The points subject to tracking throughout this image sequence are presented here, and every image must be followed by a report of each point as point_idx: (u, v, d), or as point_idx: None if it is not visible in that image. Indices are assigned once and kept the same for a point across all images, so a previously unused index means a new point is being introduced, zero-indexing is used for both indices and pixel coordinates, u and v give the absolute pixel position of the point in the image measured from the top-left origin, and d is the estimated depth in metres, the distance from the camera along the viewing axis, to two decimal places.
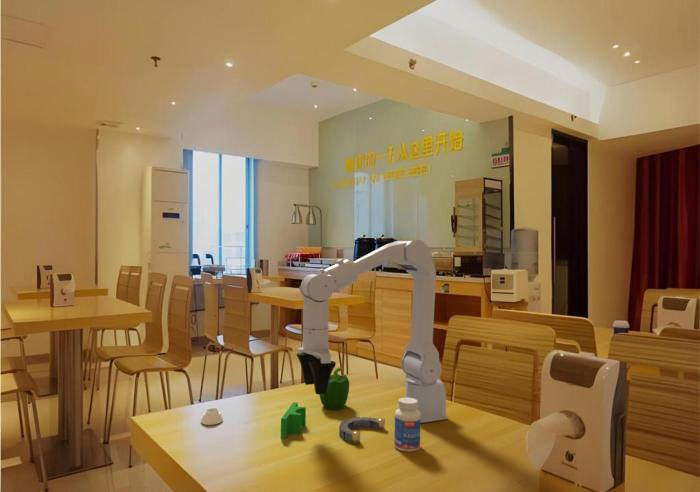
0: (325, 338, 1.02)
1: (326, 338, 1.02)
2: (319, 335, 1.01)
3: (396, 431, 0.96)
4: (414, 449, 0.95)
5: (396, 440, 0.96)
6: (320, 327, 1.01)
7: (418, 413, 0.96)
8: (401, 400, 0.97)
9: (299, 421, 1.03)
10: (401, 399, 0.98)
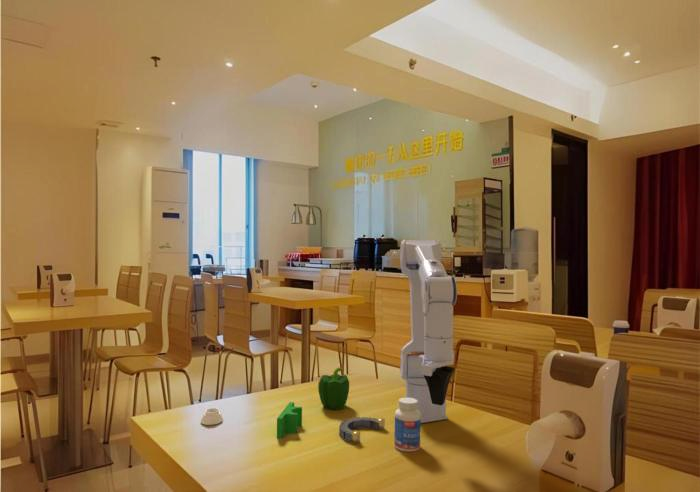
0: (441, 349, 0.90)
1: (443, 349, 0.90)
2: (432, 344, 0.91)
3: (396, 431, 0.96)
4: (414, 449, 0.95)
5: (396, 440, 0.96)
6: None
7: (418, 413, 0.96)
8: (401, 400, 0.97)
9: (295, 421, 1.03)
10: (401, 399, 0.98)
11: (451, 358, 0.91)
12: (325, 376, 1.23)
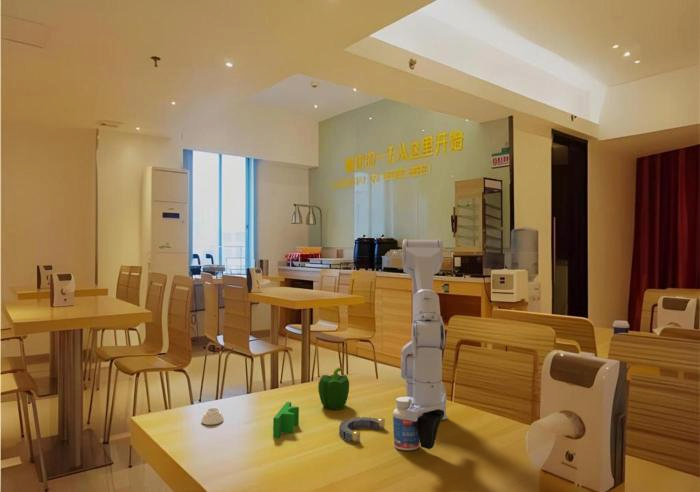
0: (428, 393, 0.91)
1: (430, 394, 0.91)
2: (420, 389, 0.92)
3: (395, 430, 0.96)
4: (414, 447, 0.95)
5: (395, 440, 0.96)
6: None
7: None
8: (398, 399, 0.97)
9: (291, 421, 1.04)
10: (398, 398, 0.98)
11: (439, 402, 0.92)
12: (325, 376, 1.23)
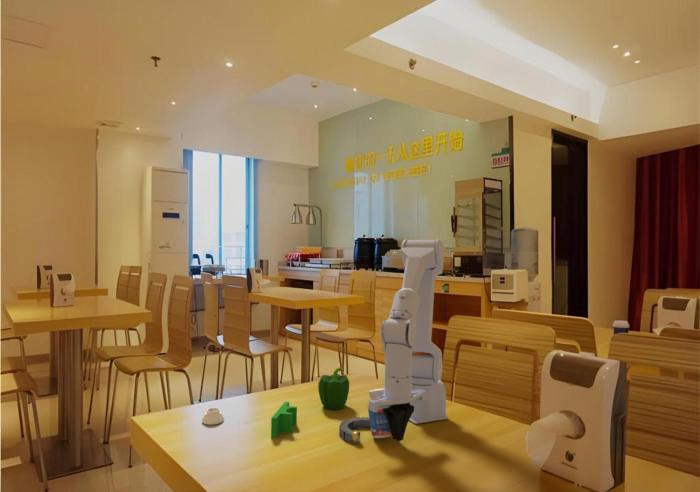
0: (393, 387, 0.96)
1: (395, 388, 0.96)
2: (387, 382, 0.97)
3: (370, 420, 1.01)
4: (389, 434, 0.99)
5: (372, 429, 1.00)
6: (411, 373, 0.97)
7: None
8: (371, 390, 1.03)
9: (289, 421, 1.04)
10: (371, 390, 1.04)
11: (405, 397, 0.96)
12: (325, 376, 1.23)
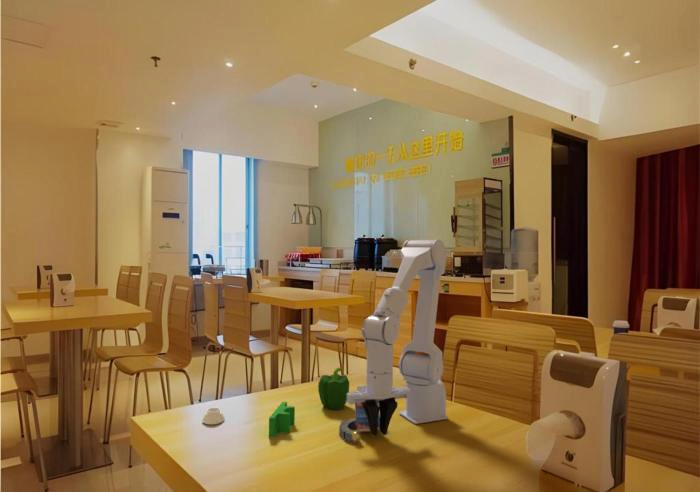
0: (371, 383, 0.99)
1: (373, 383, 0.99)
2: (367, 377, 1.00)
3: None
4: (367, 429, 1.01)
5: None
6: (390, 370, 0.99)
7: None
8: None
9: (287, 421, 1.04)
10: None
11: (383, 393, 0.98)
12: (325, 376, 1.23)
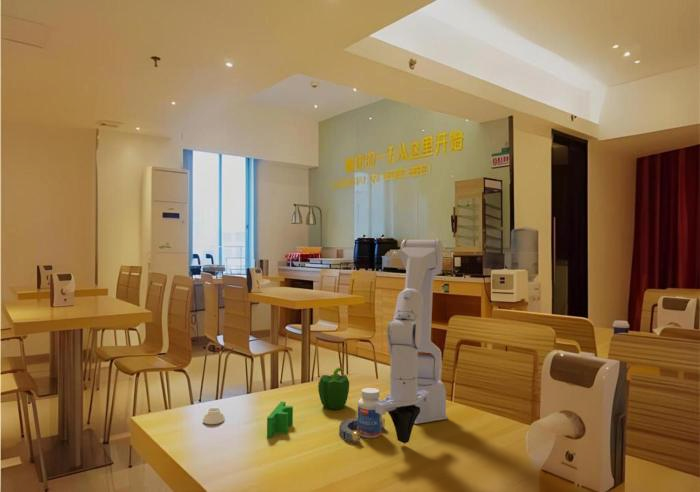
0: (400, 389, 0.95)
1: (402, 390, 0.95)
2: (393, 384, 0.96)
3: None
4: (368, 436, 1.01)
5: (357, 425, 1.04)
6: (417, 375, 0.97)
7: (375, 403, 1.02)
8: (364, 389, 1.05)
9: (285, 420, 1.04)
10: (366, 388, 1.05)
11: (412, 399, 0.95)
12: (325, 376, 1.23)
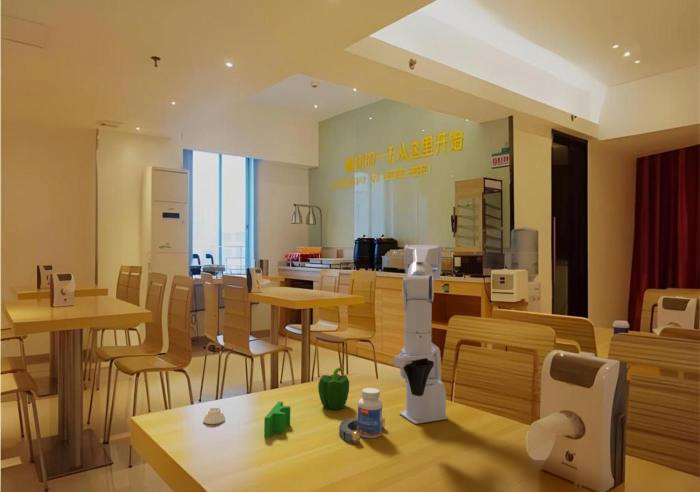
0: (416, 343, 0.96)
1: (419, 343, 0.96)
2: (409, 339, 0.97)
3: None
4: (368, 436, 1.01)
5: (357, 426, 1.04)
6: None
7: (375, 404, 1.02)
8: (365, 389, 1.04)
9: (283, 420, 1.04)
10: (366, 388, 1.05)
11: (428, 352, 0.97)
12: (325, 376, 1.23)
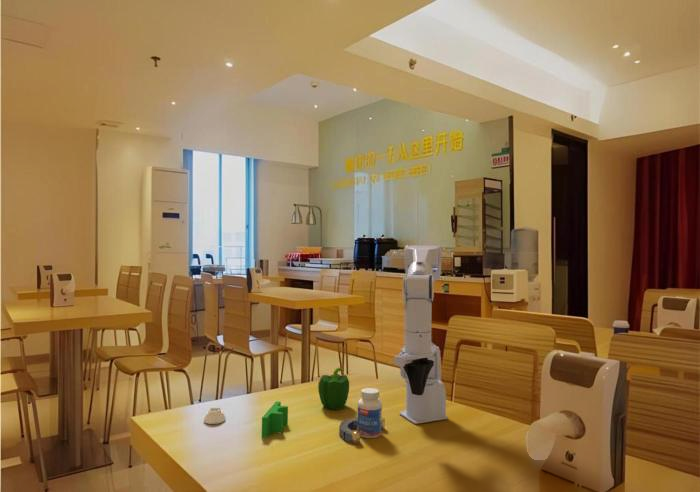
0: (416, 342, 0.97)
1: (419, 343, 0.97)
2: (409, 338, 0.97)
3: None
4: (368, 436, 1.01)
5: None
6: None
7: (375, 404, 1.02)
8: (364, 389, 1.04)
9: (280, 420, 1.04)
10: (366, 388, 1.05)
11: (428, 351, 0.97)
12: (325, 376, 1.23)
